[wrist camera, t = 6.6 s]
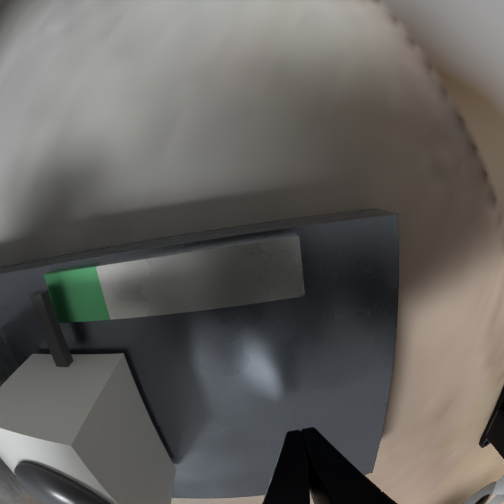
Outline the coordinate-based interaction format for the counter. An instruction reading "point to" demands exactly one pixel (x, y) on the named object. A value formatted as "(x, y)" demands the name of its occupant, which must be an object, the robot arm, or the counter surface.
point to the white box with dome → (80, 427)
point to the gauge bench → (230, 339)
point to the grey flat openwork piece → (489, 494)
